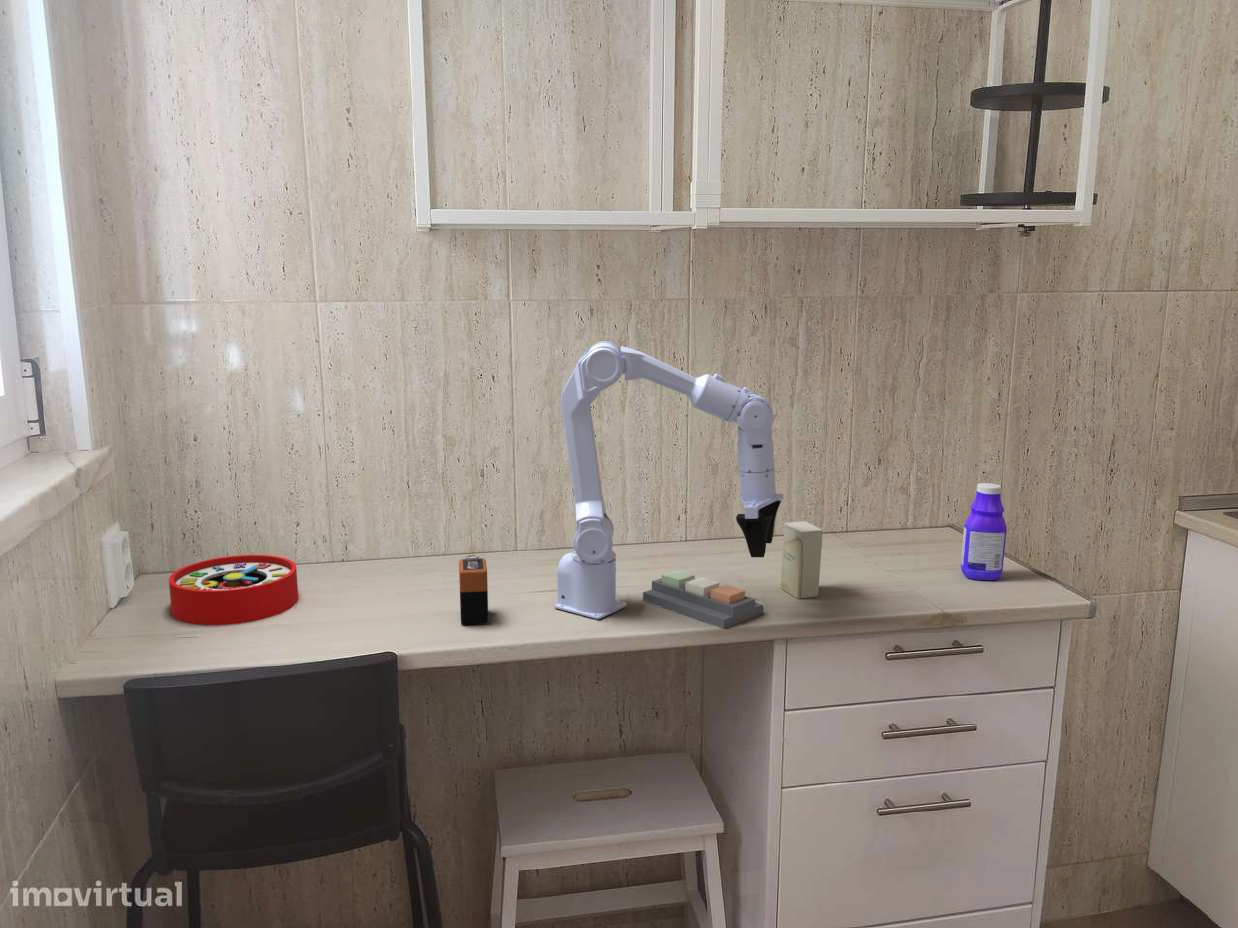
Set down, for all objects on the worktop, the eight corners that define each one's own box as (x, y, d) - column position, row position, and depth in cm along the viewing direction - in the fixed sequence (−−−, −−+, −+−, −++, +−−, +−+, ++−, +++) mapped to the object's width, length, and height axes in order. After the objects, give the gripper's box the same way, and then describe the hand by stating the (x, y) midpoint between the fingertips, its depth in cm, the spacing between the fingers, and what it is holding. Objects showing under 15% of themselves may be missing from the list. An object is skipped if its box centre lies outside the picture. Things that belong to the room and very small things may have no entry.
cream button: (685, 591, 165) (685, 582, 165) (701, 586, 168) (701, 577, 167) (703, 597, 162) (703, 587, 162) (719, 591, 165) (719, 582, 165)
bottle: (997, 572, 184) (1004, 481, 181) (1005, 582, 179) (1013, 488, 175) (957, 571, 185) (964, 480, 181) (964, 581, 179) (971, 487, 176)
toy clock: (140, 584, 159) (223, 550, 177) (144, 618, 160) (225, 581, 179) (246, 596, 153) (320, 560, 172) (248, 632, 154) (322, 592, 173)
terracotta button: (710, 599, 161) (710, 590, 161) (726, 593, 164) (726, 584, 163) (729, 605, 158) (729, 595, 158) (745, 599, 161) (745, 590, 161)
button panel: (642, 600, 168) (643, 583, 168) (682, 587, 175) (682, 571, 175) (723, 628, 156) (724, 610, 155) (763, 613, 162) (763, 595, 162)
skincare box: (779, 588, 175) (782, 522, 172) (801, 585, 176) (804, 520, 174) (798, 599, 169) (801, 531, 167) (820, 596, 171) (823, 529, 168)
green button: (661, 583, 169) (661, 574, 168) (677, 578, 172) (677, 569, 171) (678, 589, 166) (678, 580, 166) (694, 583, 169) (694, 575, 168)
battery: (487, 610, 164) (485, 552, 162) (488, 624, 157) (487, 564, 155) (460, 611, 163) (458, 553, 161) (461, 626, 156) (459, 566, 154)
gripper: (774, 479, 151) (779, 563, 154) (787, 458, 165) (792, 537, 167) (729, 479, 153) (734, 563, 156) (746, 459, 167) (750, 536, 170)
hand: (761, 549), depth 162 cm, fingers open, 7 cm apart
